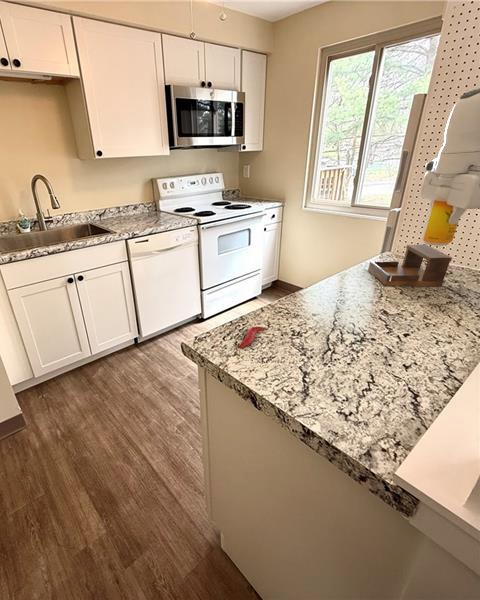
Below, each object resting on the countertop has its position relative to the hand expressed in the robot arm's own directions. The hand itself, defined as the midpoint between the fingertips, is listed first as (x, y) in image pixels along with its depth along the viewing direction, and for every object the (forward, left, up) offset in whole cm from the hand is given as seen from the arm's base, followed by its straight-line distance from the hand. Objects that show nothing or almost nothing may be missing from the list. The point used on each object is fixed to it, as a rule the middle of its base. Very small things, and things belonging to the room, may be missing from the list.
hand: (442, 220), depth 82 cm
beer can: (0, 0, -6) cm, 6 cm away
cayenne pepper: (+50, +28, -22) cm, 61 cm away
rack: (-2, -14, -22) cm, 26 cm away
